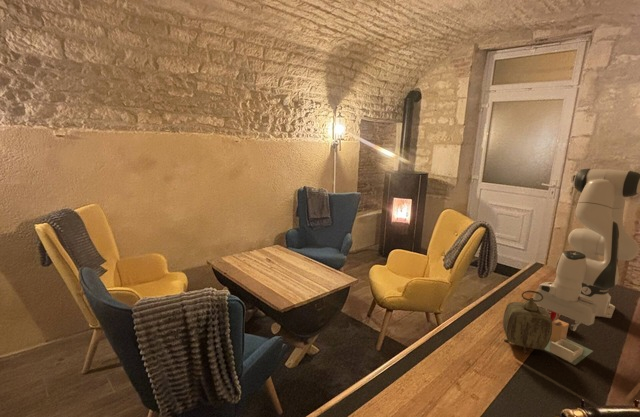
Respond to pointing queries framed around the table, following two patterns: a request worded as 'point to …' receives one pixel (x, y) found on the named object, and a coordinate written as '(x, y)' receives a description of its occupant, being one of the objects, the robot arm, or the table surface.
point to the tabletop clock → (527, 324)
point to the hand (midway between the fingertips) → (559, 323)
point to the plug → (559, 330)
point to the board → (584, 353)
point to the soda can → (553, 315)
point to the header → (566, 350)
